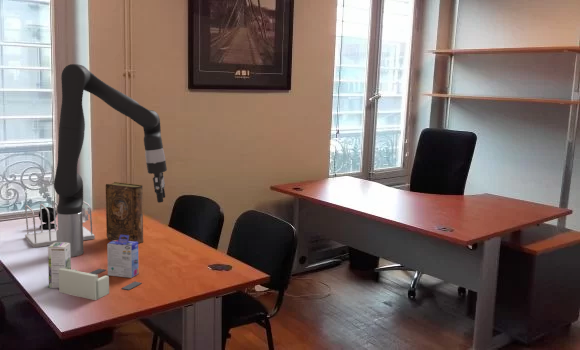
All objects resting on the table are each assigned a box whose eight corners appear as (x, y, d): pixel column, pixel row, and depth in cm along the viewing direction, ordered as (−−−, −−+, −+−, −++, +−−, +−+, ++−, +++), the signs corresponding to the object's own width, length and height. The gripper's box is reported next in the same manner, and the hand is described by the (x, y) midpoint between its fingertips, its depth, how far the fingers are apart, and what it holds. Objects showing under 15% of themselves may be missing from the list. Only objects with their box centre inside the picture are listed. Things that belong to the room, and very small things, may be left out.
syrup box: (54, 282, 192) (52, 242, 189) (72, 282, 192) (70, 242, 190) (48, 288, 186) (46, 246, 184) (66, 288, 187) (65, 246, 184)
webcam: (40, 230, 255) (39, 209, 253) (38, 226, 261) (37, 206, 260) (58, 228, 259) (57, 207, 257) (56, 224, 265) (55, 204, 264)
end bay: (59, 292, 183) (58, 269, 182) (74, 285, 189) (73, 263, 188) (95, 300, 177) (94, 276, 176) (109, 293, 183) (108, 270, 182)
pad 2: (121, 288, 188) (121, 288, 188) (134, 282, 194) (134, 281, 194) (128, 290, 186) (128, 289, 186) (141, 283, 193) (141, 282, 193)
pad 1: (85, 275, 200) (85, 274, 200) (99, 269, 206) (99, 268, 206) (92, 276, 198) (92, 275, 198) (105, 270, 205) (105, 269, 205)
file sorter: (83, 230, 258) (82, 197, 255) (95, 239, 244) (93, 205, 241) (25, 238, 243) (23, 203, 240) (33, 248, 229) (31, 211, 226)
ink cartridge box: (139, 273, 203) (139, 235, 201) (132, 278, 198) (131, 239, 195) (114, 270, 205) (113, 233, 202) (107, 275, 200) (106, 237, 197)
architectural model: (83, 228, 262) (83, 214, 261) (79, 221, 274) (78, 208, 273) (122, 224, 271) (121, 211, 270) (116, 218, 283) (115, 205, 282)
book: (145, 241, 243) (144, 185, 239) (137, 244, 238) (136, 187, 234) (115, 236, 249) (113, 181, 245) (106, 239, 244) (105, 183, 240)
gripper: (148, 159, 227) (154, 197, 230) (143, 164, 213) (150, 205, 216) (166, 157, 228) (172, 195, 231) (163, 161, 214) (169, 202, 217)
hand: (161, 199), depth 223 cm, fingers open, 8 cm apart
